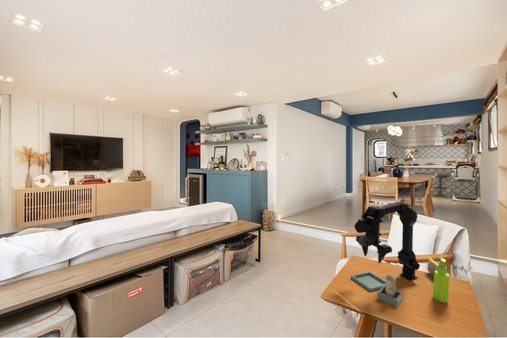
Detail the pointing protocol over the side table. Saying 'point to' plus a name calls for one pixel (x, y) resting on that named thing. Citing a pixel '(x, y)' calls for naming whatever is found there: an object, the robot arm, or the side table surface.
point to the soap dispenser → (441, 282)
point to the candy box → (432, 266)
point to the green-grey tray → (369, 280)
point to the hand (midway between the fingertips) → (372, 259)
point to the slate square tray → (389, 299)
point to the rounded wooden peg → (390, 285)
